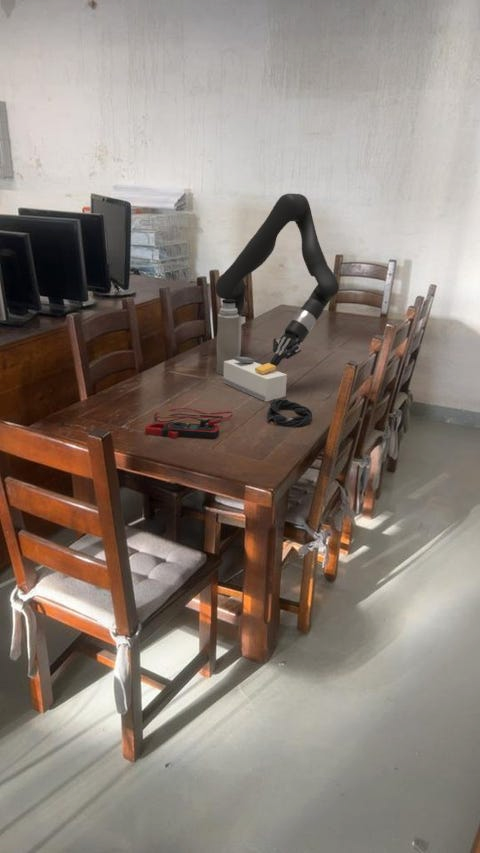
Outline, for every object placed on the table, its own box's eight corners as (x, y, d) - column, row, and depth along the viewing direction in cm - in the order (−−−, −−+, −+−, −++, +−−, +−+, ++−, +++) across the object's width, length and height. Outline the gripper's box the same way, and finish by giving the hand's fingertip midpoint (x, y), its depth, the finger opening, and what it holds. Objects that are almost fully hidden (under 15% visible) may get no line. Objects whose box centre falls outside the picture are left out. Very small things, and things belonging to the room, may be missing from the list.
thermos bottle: (222, 368, 232) (223, 296, 221) (240, 371, 229) (243, 299, 218) (213, 373, 226) (214, 300, 214) (232, 376, 223) (234, 302, 211)
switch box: (222, 382, 216) (222, 361, 213) (242, 377, 222) (243, 357, 219) (264, 401, 199) (266, 379, 196) (285, 396, 205) (286, 374, 202)
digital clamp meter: (227, 429, 167) (141, 423, 169) (227, 444, 169) (141, 437, 171) (236, 400, 189) (159, 395, 191) (236, 413, 190) (160, 408, 192)
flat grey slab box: (233, 360, 211) (234, 356, 211) (246, 361, 215) (247, 357, 214) (240, 363, 208) (241, 359, 208) (253, 364, 212) (254, 359, 212)
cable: (271, 405, 197) (272, 393, 195) (313, 409, 195) (314, 397, 193) (264, 425, 182) (265, 412, 180) (309, 429, 180) (311, 416, 178)
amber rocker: (255, 372, 203) (255, 367, 202) (268, 367, 206) (268, 362, 205) (262, 375, 200) (262, 370, 199) (276, 370, 203) (275, 365, 202)
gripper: (282, 315, 209) (255, 354, 206) (309, 323, 199) (280, 363, 197) (292, 328, 214) (265, 366, 211) (318, 336, 204) (290, 376, 202)
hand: (272, 365), depth 204 cm, fingers closed
